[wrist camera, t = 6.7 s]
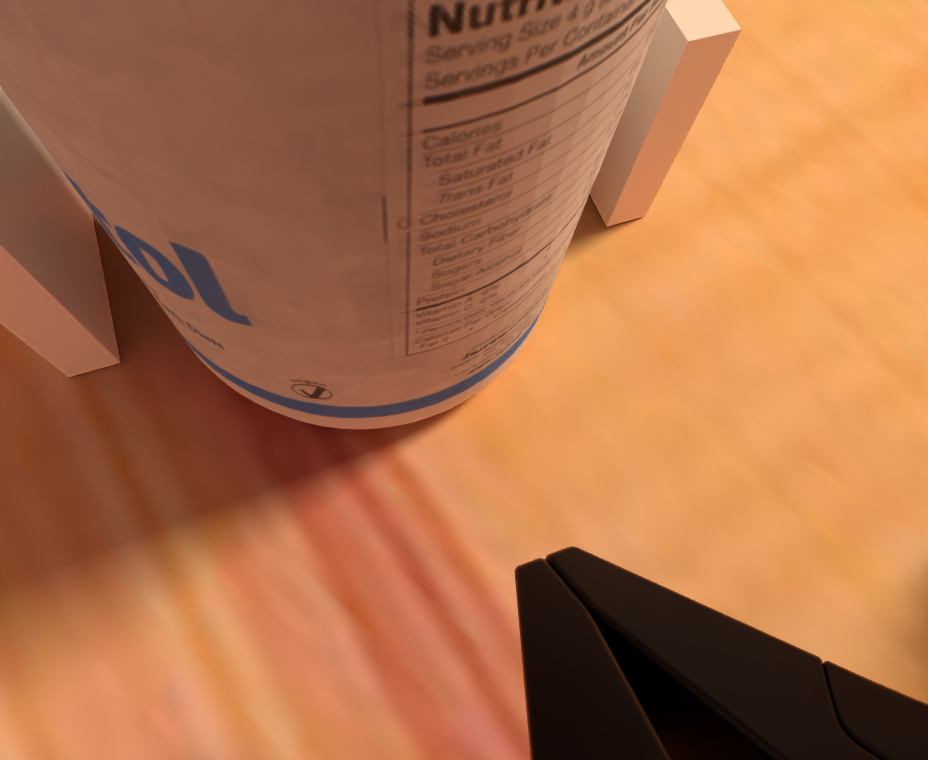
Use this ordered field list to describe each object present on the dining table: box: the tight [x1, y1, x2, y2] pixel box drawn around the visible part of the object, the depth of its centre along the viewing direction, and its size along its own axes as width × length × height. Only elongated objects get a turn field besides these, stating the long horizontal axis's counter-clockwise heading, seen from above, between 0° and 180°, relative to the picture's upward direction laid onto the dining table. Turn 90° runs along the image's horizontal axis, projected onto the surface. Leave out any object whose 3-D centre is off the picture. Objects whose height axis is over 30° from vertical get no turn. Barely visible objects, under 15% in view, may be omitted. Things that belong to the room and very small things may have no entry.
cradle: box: [0, 0, 741, 377], centre depth 16 cm, size 8×15×6 cm, turn 110°
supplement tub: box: [0, 0, 668, 429], centre depth 11 cm, size 10×10×15 cm
